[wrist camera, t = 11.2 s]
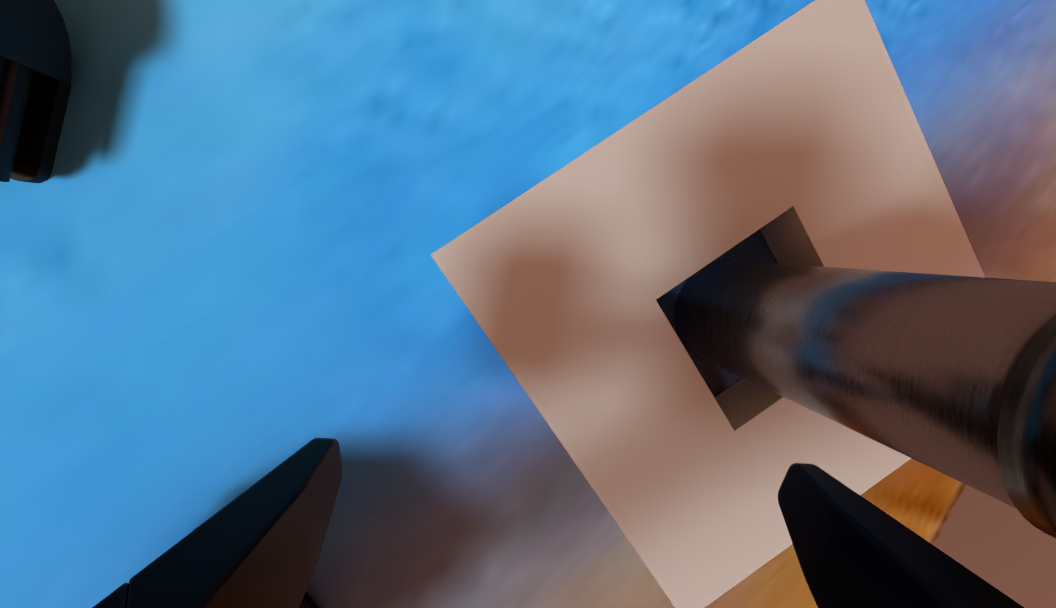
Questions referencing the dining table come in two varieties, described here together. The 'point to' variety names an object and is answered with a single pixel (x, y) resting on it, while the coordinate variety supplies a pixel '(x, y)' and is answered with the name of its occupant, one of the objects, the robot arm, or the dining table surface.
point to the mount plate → (683, 249)
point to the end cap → (32, 87)
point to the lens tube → (898, 362)
